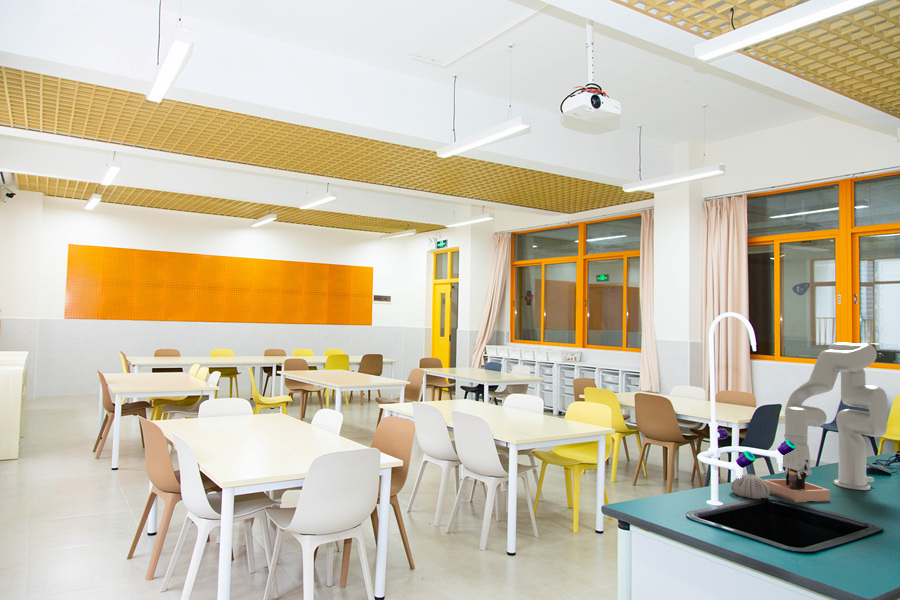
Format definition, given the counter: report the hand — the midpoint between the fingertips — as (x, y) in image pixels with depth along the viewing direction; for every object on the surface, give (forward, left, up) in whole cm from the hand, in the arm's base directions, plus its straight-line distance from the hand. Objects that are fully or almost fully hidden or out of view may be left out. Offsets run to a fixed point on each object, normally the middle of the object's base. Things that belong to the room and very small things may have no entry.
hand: (795, 486), depth 226 cm
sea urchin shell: (+19, -2, -4) cm, 19 cm away
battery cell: (0, 0, -1) cm, 1 cm away
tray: (0, 0, -3) cm, 3 cm away
